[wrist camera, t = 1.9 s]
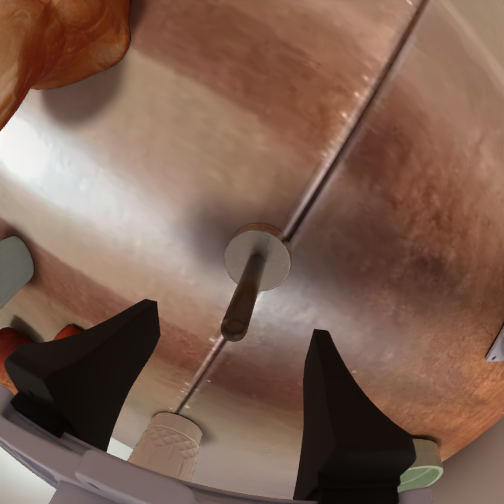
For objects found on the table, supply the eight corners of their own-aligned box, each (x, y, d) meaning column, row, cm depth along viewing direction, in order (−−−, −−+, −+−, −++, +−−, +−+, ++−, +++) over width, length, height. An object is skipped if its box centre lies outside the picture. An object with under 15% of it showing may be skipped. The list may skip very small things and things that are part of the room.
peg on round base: (295, 227, 20) (288, 304, 12) (286, 284, 22) (274, 377, 13) (231, 218, 20) (181, 285, 12) (227, 275, 22) (186, 360, 14)
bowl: (453, 431, 27) (460, 459, 22) (411, 472, 32) (414, 497, 28) (370, 436, 28) (373, 470, 24) (338, 475, 34) (337, 503, 29)
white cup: (203, 448, 34) (183, 506, 25) (150, 429, 35) (124, 484, 26) (210, 422, 31) (187, 492, 22) (149, 400, 31) (115, 464, 22)
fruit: (28, 313, 30) (-20, 357, 21) (66, 372, 33) (29, 419, 24) (0, 318, 33) (-39, 353, 24) (32, 368, 36) (0, 406, 27)
